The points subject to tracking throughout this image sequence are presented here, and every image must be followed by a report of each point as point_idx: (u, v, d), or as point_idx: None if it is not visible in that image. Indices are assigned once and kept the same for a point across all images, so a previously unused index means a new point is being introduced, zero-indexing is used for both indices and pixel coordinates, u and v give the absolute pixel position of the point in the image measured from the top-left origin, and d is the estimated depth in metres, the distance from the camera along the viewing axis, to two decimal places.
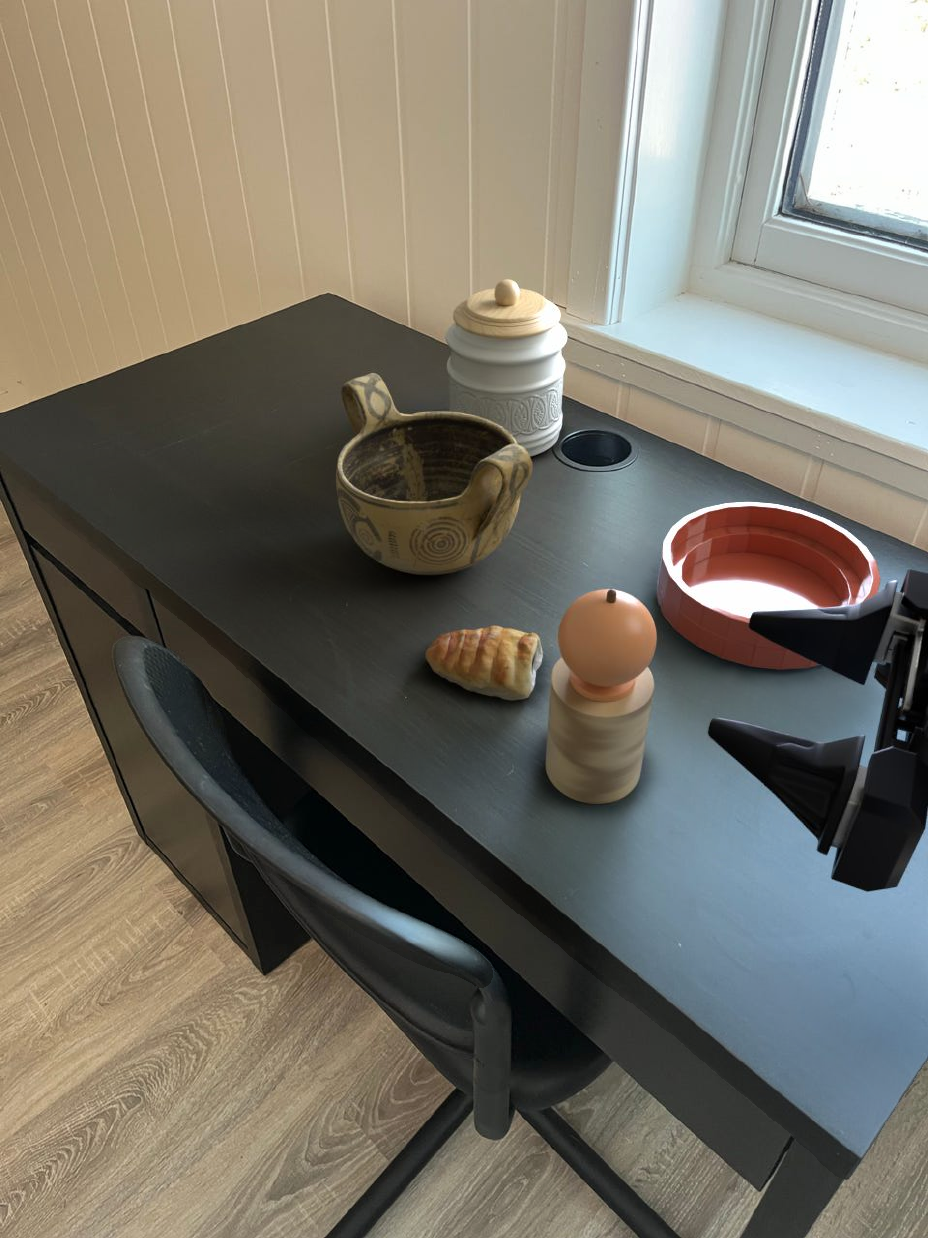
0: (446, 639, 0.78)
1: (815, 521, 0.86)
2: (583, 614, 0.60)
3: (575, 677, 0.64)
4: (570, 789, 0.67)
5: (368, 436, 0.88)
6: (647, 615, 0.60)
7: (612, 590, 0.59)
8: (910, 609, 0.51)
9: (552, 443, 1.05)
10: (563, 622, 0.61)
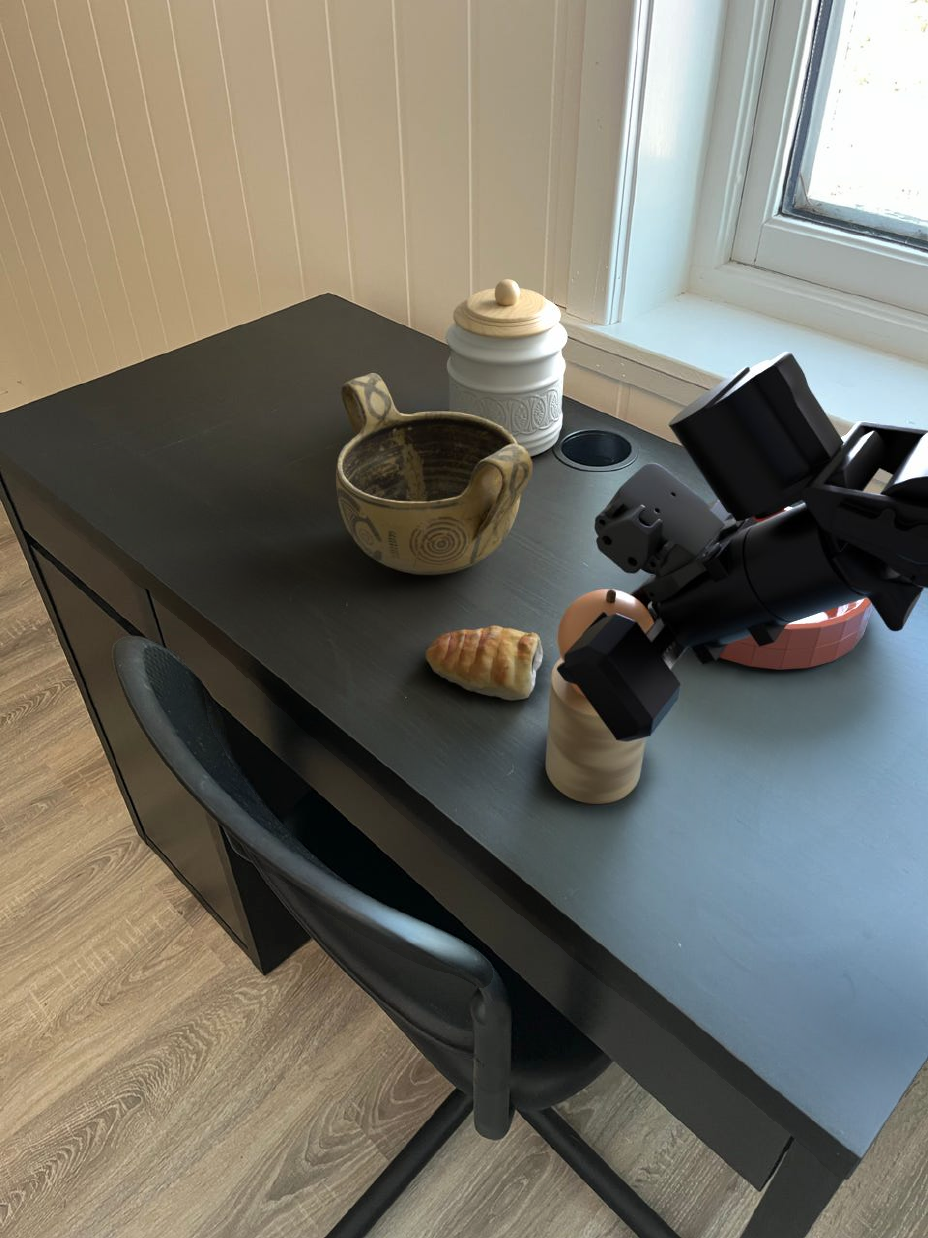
0: (446, 639, 0.78)
1: None
2: (583, 614, 0.60)
3: None
4: (570, 789, 0.67)
5: (368, 436, 0.88)
6: (647, 615, 0.60)
7: (612, 590, 0.59)
8: None
9: (552, 443, 1.05)
10: (563, 622, 0.61)
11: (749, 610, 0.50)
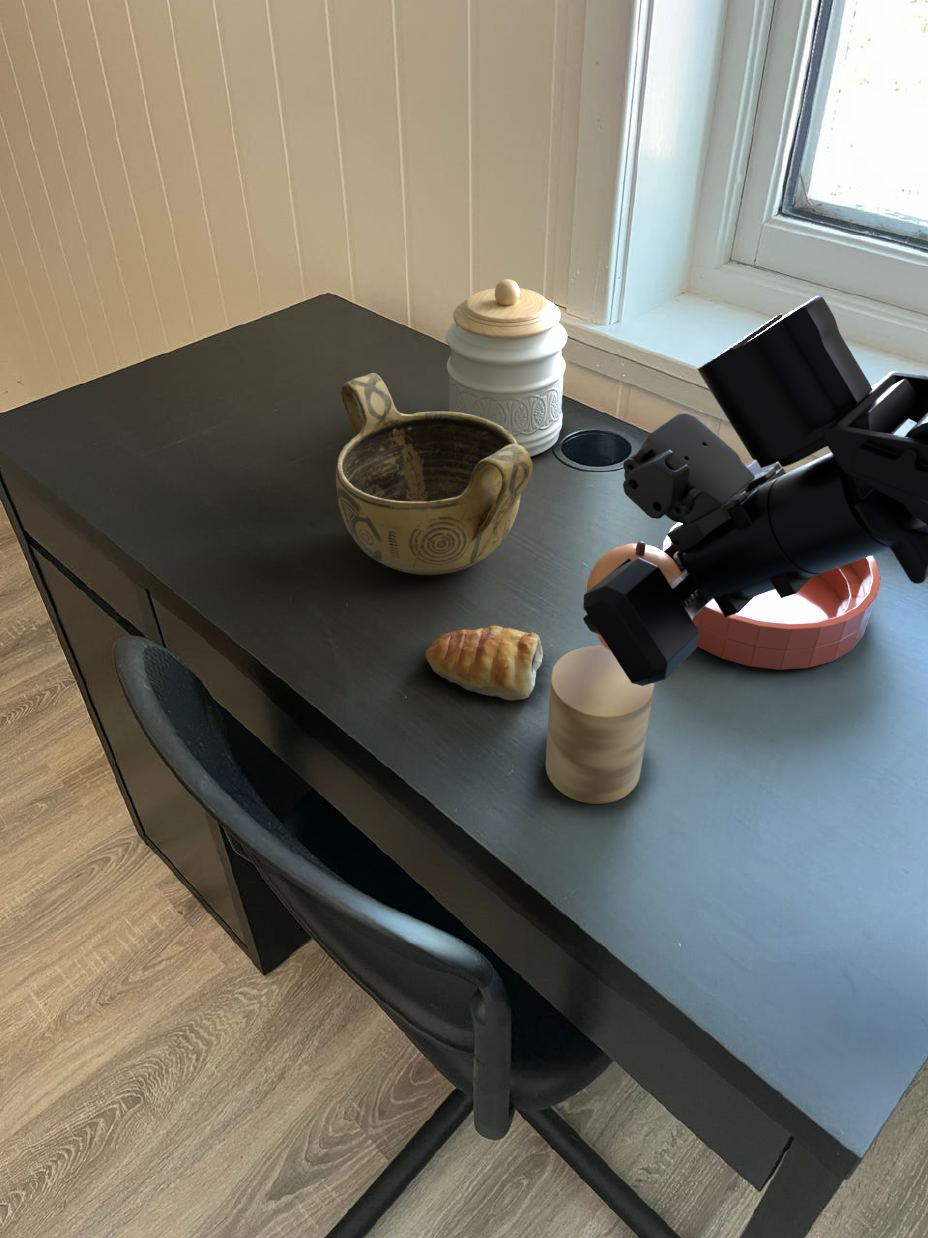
0: (446, 639, 0.78)
1: None
2: (611, 565, 0.60)
3: None
4: (570, 789, 0.67)
5: (368, 436, 0.88)
6: (676, 570, 0.60)
7: (641, 542, 0.60)
8: None
9: (552, 443, 1.05)
10: (592, 573, 0.62)
11: (771, 559, 0.50)
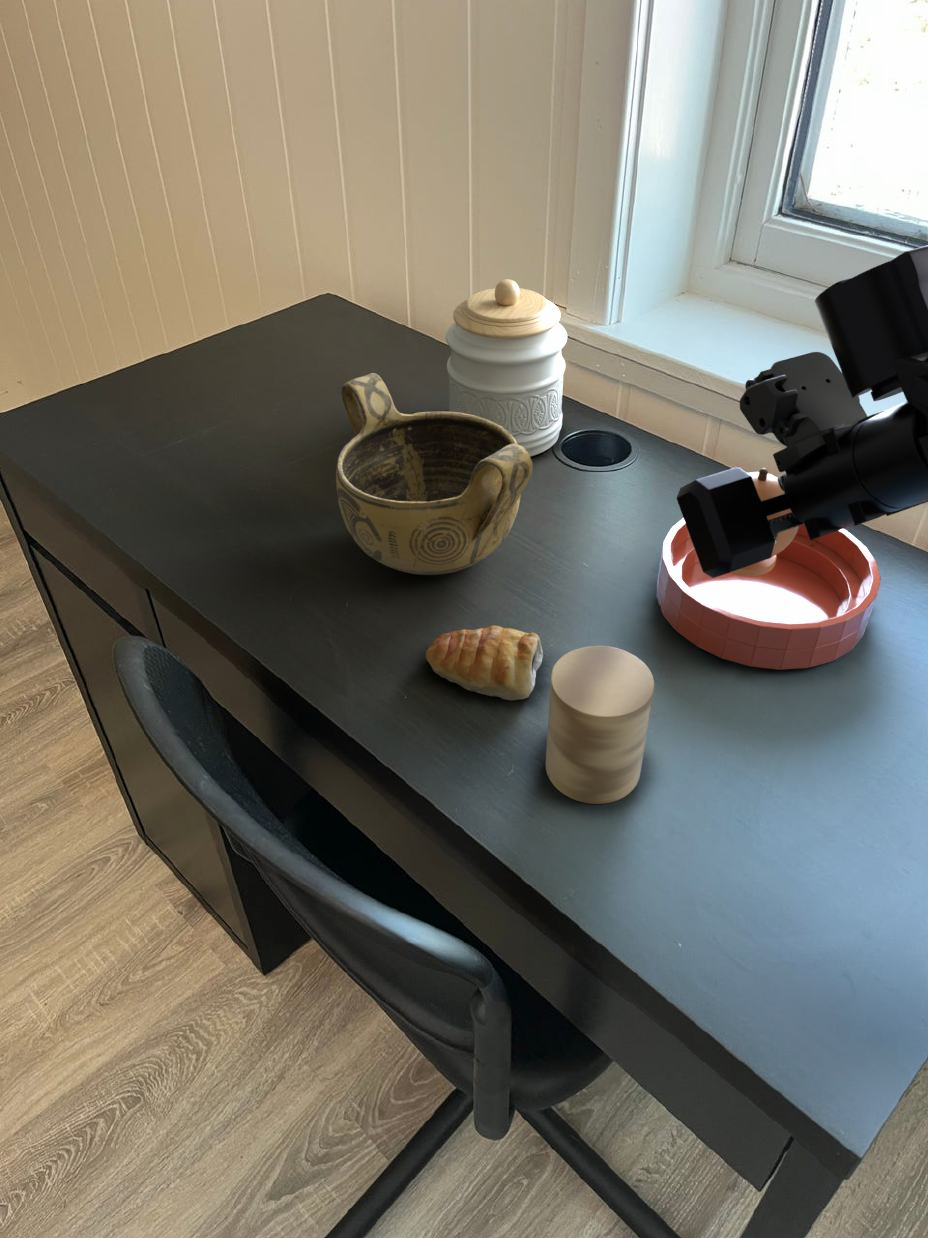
0: (446, 639, 0.78)
1: None
2: None
3: None
4: (570, 789, 0.67)
5: (368, 436, 0.88)
6: None
7: (764, 469, 0.66)
8: None
9: (552, 443, 1.05)
10: None
11: (848, 485, 0.56)
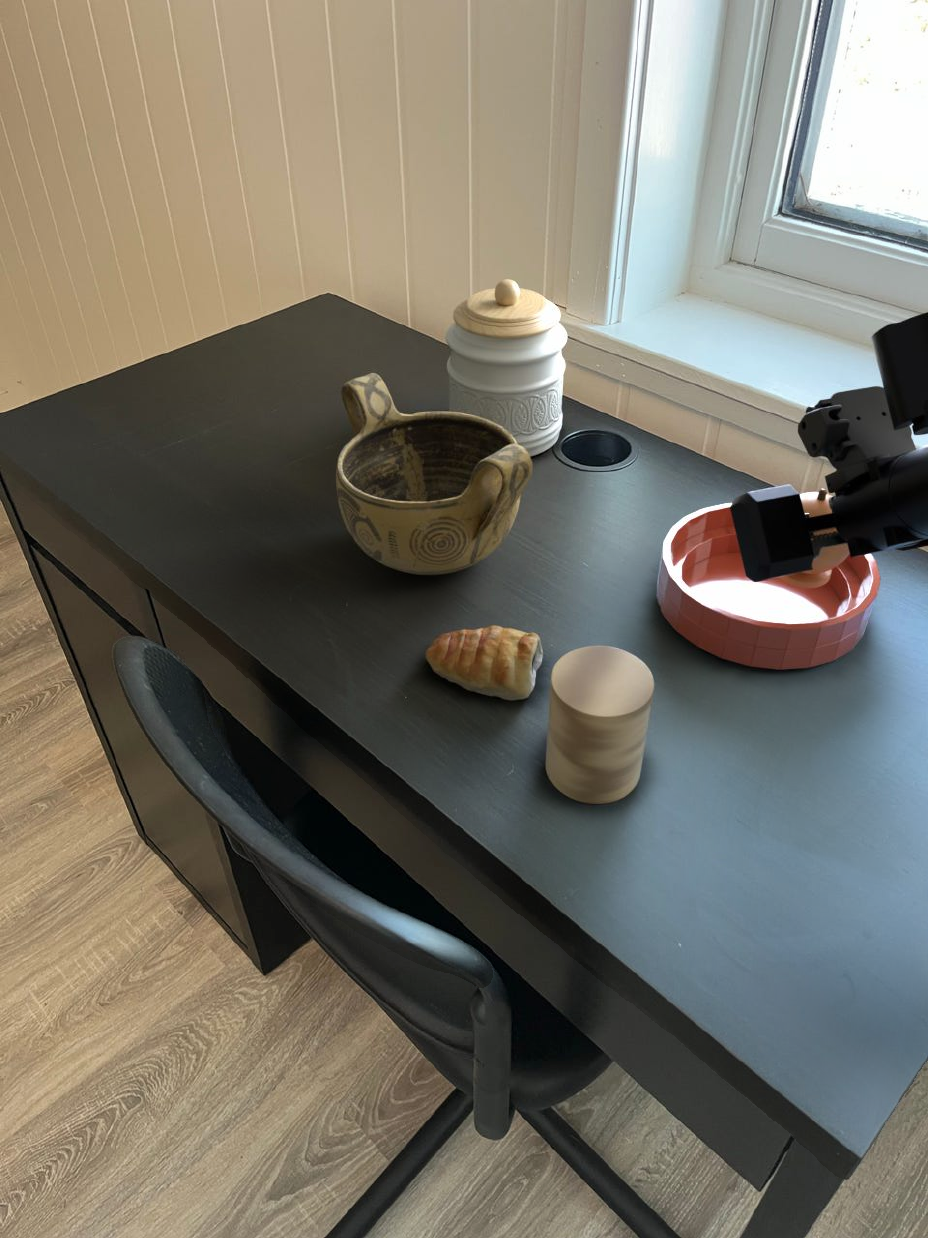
0: (446, 639, 0.78)
1: None
2: None
3: None
4: (570, 789, 0.67)
5: (368, 436, 0.88)
6: None
7: (823, 489, 0.71)
8: None
9: (552, 443, 1.05)
10: None
11: (883, 509, 0.61)
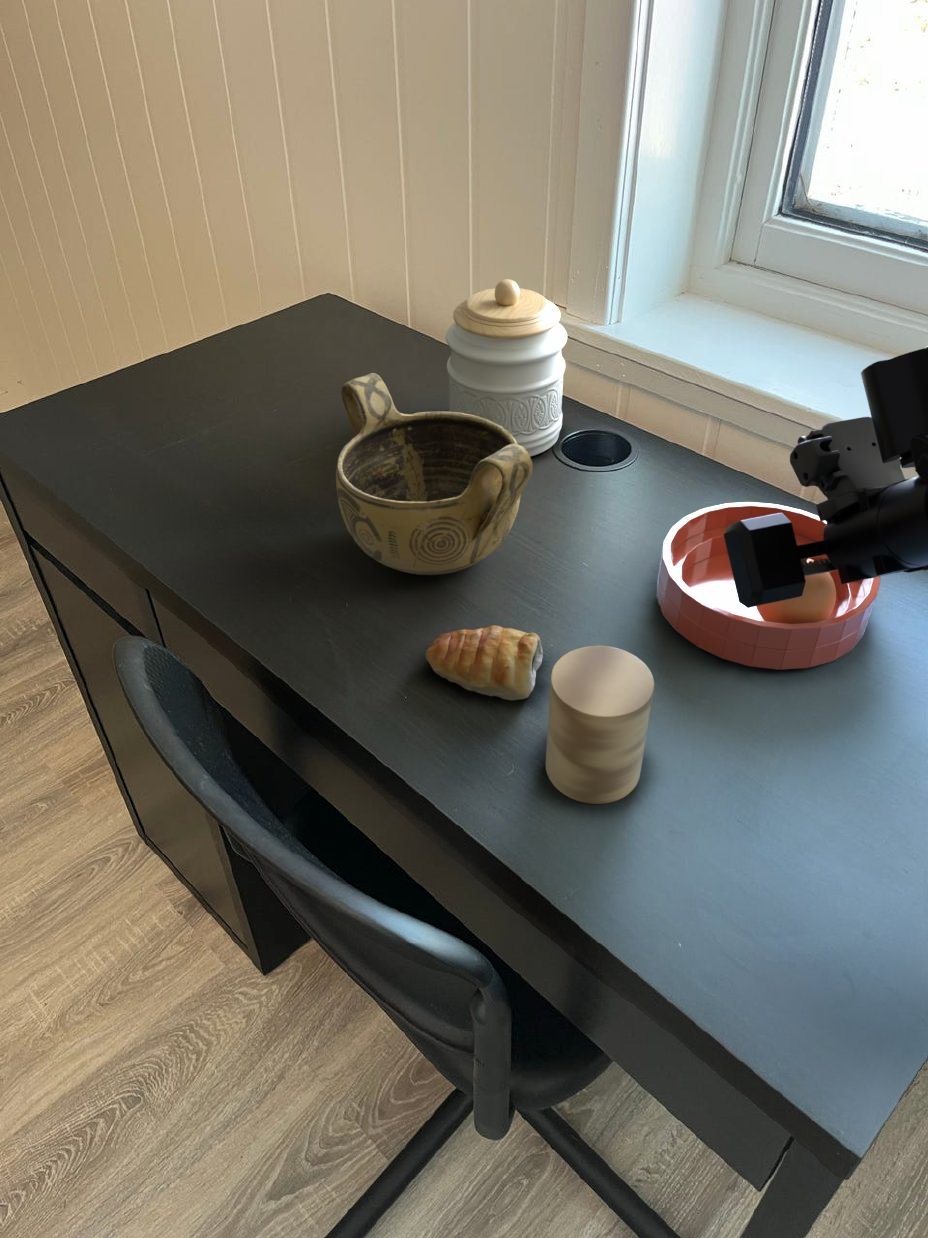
0: (446, 639, 0.78)
1: (815, 521, 0.86)
2: None
3: (764, 620, 0.81)
4: (570, 789, 0.67)
5: (368, 436, 0.88)
6: (827, 585, 0.76)
7: None
8: None
9: (552, 443, 1.05)
10: None
11: (873, 539, 0.63)
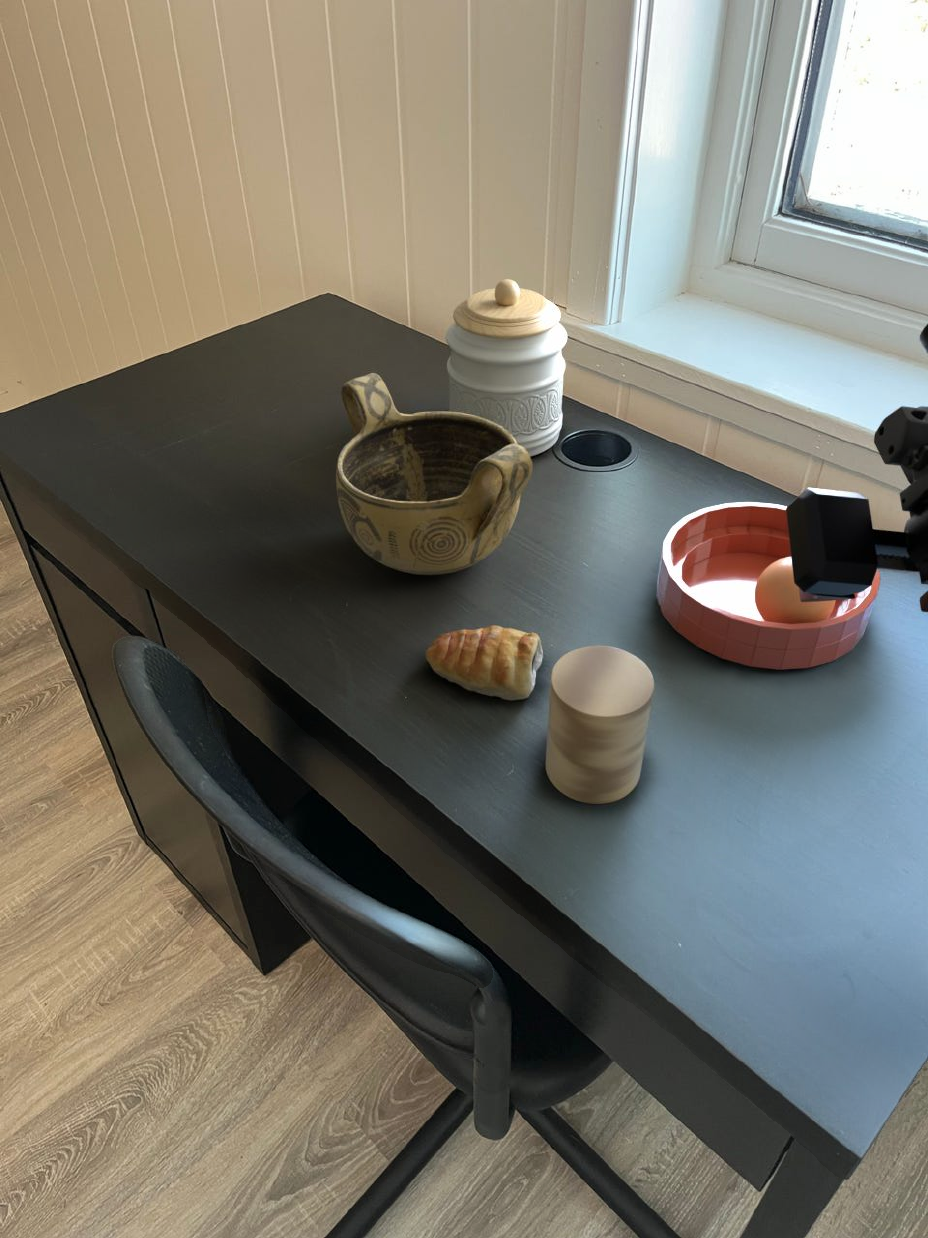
0: (446, 639, 0.78)
1: None
2: (776, 566, 0.77)
3: (764, 620, 0.81)
4: (570, 789, 0.67)
5: (368, 436, 0.88)
6: None
7: None
8: None
9: (552, 443, 1.05)
10: (763, 571, 0.79)
11: None
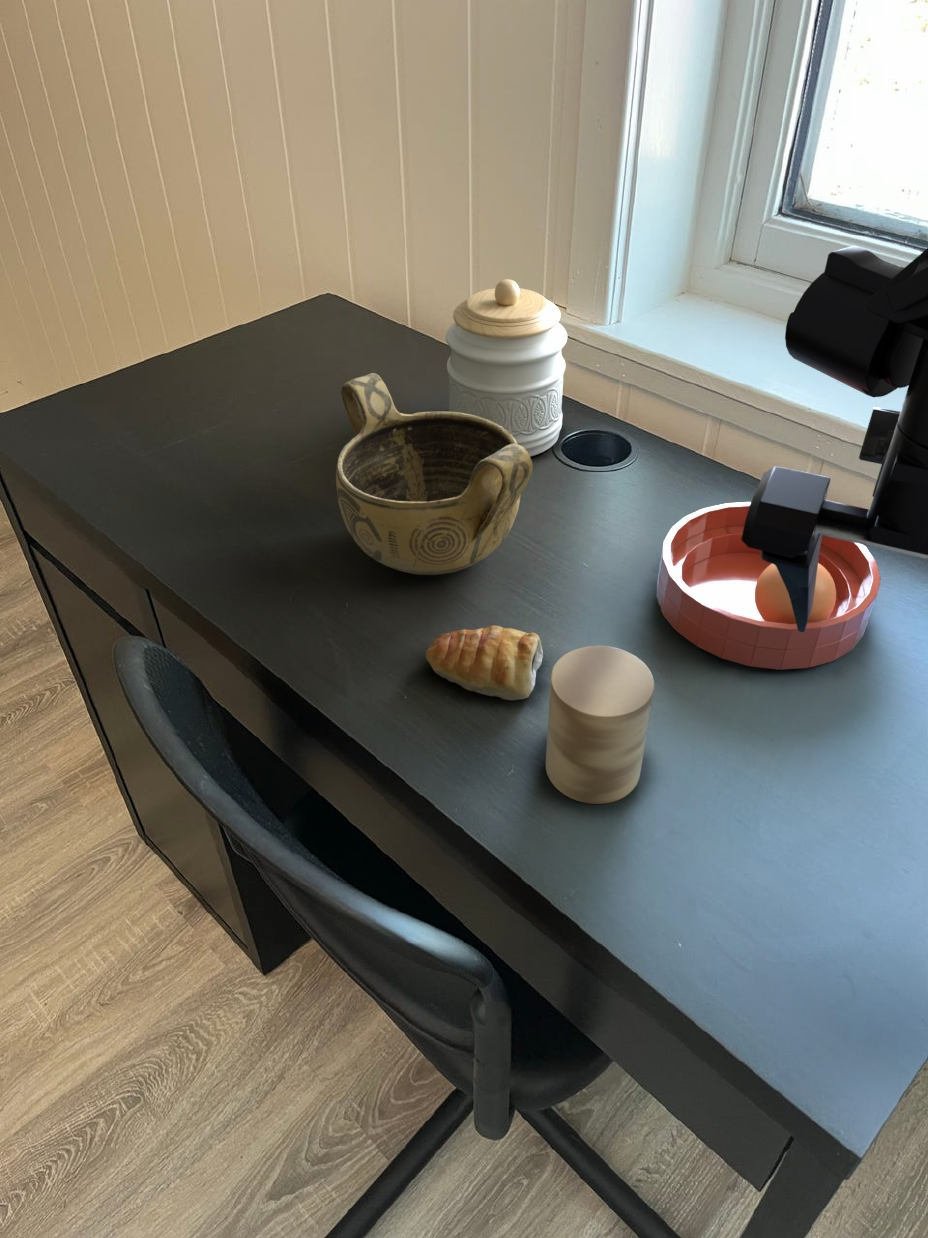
0: (446, 639, 0.78)
1: None
2: None
3: (764, 620, 0.81)
4: (570, 789, 0.67)
5: (368, 436, 0.88)
6: (827, 585, 0.76)
7: None
8: None
9: (552, 443, 1.05)
10: None
11: (892, 439, 0.52)
